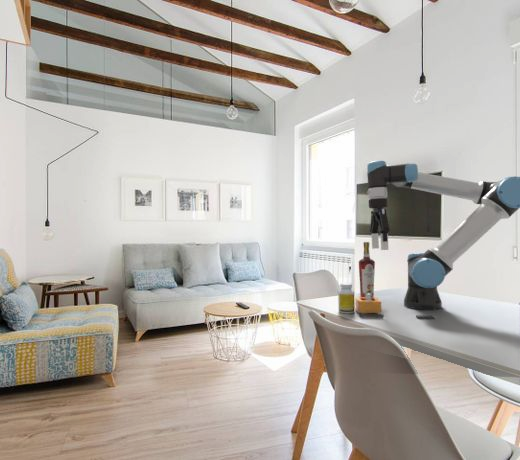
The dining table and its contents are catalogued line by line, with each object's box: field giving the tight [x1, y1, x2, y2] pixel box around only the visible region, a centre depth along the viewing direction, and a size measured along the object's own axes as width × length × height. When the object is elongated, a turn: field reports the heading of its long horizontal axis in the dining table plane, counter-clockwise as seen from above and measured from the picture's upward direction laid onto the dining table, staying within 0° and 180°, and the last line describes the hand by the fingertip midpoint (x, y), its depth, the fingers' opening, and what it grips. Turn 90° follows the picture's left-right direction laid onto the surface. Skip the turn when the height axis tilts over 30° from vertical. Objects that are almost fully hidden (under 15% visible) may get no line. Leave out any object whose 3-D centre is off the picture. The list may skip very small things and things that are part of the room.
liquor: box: [358, 241, 376, 298], centre depth 168 cm, size 7×7×28 cm
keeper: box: [355, 293, 385, 318], centre depth 144 cm, size 11×9×8 cm
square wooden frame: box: [354, 296, 382, 313], centre depth 144 cm, size 8×8×4 cm
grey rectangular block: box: [415, 314, 436, 320], centre depth 136 cm, size 6×2×1 cm, turn 84°
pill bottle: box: [337, 282, 356, 314], centre depth 147 cm, size 6×6×12 cm
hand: (379, 249), depth 150 cm, fingers open, 13 cm apart
